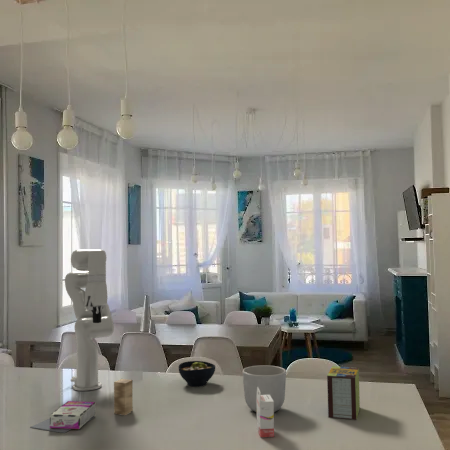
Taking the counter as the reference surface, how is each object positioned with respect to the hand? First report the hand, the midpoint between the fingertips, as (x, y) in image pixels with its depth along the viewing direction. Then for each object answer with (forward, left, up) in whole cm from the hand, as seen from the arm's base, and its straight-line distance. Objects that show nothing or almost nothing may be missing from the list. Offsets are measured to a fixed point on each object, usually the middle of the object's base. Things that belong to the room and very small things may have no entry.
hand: (96, 322), depth 214 cm
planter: (+70, +12, -32) cm, 78 cm away
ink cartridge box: (+78, -11, -32) cm, 85 cm away
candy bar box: (+7, -18, -29) cm, 35 cm away
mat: (+6, -28, -32) cm, 43 cm away
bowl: (+29, +36, -32) cm, 56 cm away
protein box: (+99, +20, -32) cm, 106 cm away
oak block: (+20, -10, -32) cm, 39 cm away
